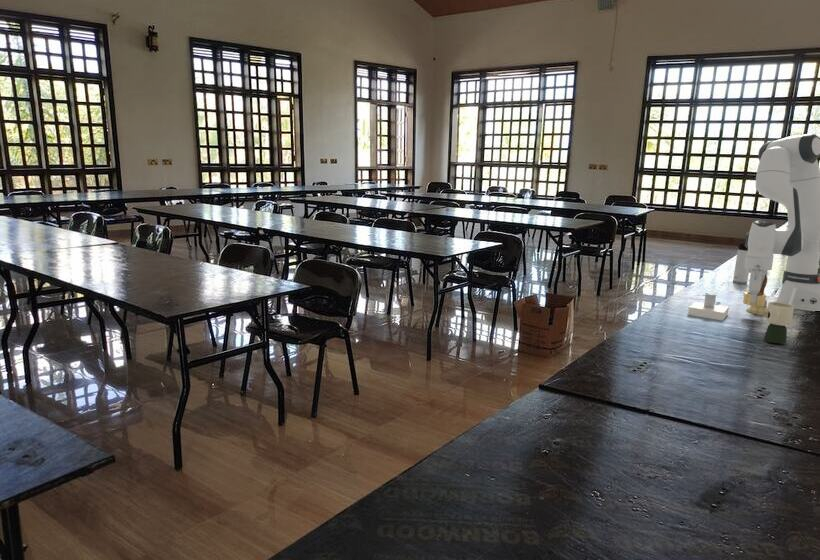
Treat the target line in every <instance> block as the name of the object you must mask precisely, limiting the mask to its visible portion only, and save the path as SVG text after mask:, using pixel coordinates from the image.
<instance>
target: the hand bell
mask: <svg viewBox="0 0 820 560" xmlns="http://www.w3.org/2000/svg"><path fill="white" fill-rule="evenodd" d="M767 284H768V274H765V277H764V280H763V283H762V286H761V289H760V292H759V293H763V294H765V288H766V286H767ZM767 309H768V302H767V299H766V298H765V305H764V306H751V305H749V307H747V308H746V309H745V310H746V312H747V313H750V314H754V315H759V316H766V314H767Z"/></svg>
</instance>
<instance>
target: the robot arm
mask: <svg viewBox="0 0 820 560" xmlns="http://www.w3.org/2000/svg"><path fill="white" fill-rule="evenodd" d="M757 156H758V158H757V159H758V161H759V162H758V164H757V165H758V166H757V170H756V171H757V172H756V176H755V189H756V190H757V192H758V193H759V194H760V196H762V197H764V198H766V199H767V200H771V201H773V202H776V203H779V204H780V205H783V206H784V207H785V209H786V210H787V212H786V213H787V225H788V226H787V228H777V226H776V223H775V222H774V221H772V220H766V219H761V220H760V219H759V220H754V221H752V223H751V226H750V230H749V231H748V232H746V233H745V242H744V244H745V246H746V247H747V248H748V252H747V254H746V260H745V268H748V272H749V275H750V276H749V282H748V283H749V284H748V292H751V300H750V301H751V302H756V298H757V293H759V292H760V289H761V286H762V283H763V280H764V277H765V274H766V275H768V271H771V270H773V263H774V255H782V256H787V259H786V265H785V269H784V271H783V274H782V280H781V284H782V285H781V288H780V291H779V294H778V296H777V297H776V299H775V301H774V302H780V303H786V304H790V305H793V306H794V310H798V309H799V310H800V311H808V312H815V311H820V274H818V268H819V266H820V265H819V264H820V165H819V161H818V158H819V157H820V137H819V136H818V135H817V134H815V133H805V134H802V135H801V134H800V135H791V136H787V137H784V138H780V139H776V140H771V141H768V142H765V143H763V144H762V145H761V147H760V148H759V149H758V155H757Z"/></svg>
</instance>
